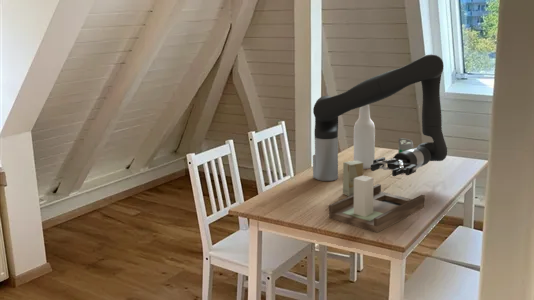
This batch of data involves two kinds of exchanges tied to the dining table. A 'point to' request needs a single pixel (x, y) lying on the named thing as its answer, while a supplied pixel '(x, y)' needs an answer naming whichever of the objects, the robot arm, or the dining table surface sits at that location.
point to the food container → (405, 145)
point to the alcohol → (364, 138)
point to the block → (363, 195)
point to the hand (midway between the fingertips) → (382, 170)
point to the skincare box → (351, 175)
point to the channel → (377, 210)
